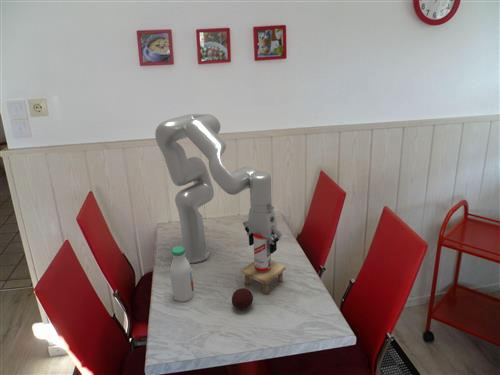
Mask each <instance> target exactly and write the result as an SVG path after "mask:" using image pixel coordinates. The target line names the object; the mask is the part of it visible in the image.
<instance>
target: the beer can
mask: <svg viewBox="0 0 500 375" xmlns="http://www.w3.org/2000/svg"><path fill="white" fill-rule="evenodd" d="M253 239H254V244H253V256H254V257H253V262H254V265H255V269H256V270H257V271H259V272H267V271H269V270H270V268H271V261H272V255H271V253H270V241H269V239H268V238H265V237H263V236H262V234H257V233H255V234H254V236H253Z"/></svg>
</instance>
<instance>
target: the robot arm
mask: <svg viewBox="0 0 500 375" xmlns="http://www.w3.org/2000/svg"><path fill="white" fill-rule="evenodd" d="M220 131H221V123H220V121H219V119H218V118H217V117H216V116H215V115H212V114H208V113H207V114H205V113H203V114H199V113H197V114H196V113H195V114H194V113H190V114H189V113H188V114H184V115H181V116H177V117H174V118H170V119H167V120H164V121H162V122H161V123H159V124H158V125H157V127H156V129H155V133H154V135H155V141H156V144H157V146H158V148H159V149H160V152H161V154H162V155H163V158H164V161H165V164H166V167H167V170H168V172H169V175H170V179H171V182H172V183H173V184H174V185H175V186H177V187H182V186H186V185H188V184H190V183H193V184H191V185H188V186H187V187H184V188H183V189H181V190H179V191H178V192H177V193H176V195H175V198H174V202H175V206H176V209H177V212H178V216H179V223H180V232H181V242H180V244H179V245H178V246H182V247H184V249H185V257H186V259H187V260H188V262H189V264H198V263H202V262H204V261H206V260H207V259H208V258H210V257H211V251H210V249H209V248H207V246H206V236H205V226H204V217H203V214H201V212H200V211H199V208H200V207H202V206H204V205H206V204H208V203H209V202H211V201H212V200H213V198H214V197H215V196H214V195H215V192H214V187H213V182H212V180H211V177H212V178H213V180H214V181H215V183H216V184H217V185H218V186H219V187H220V188H221V190H223V191H224V192H226V194H228V195H231V196H235V195H238V194H239V193H242V192H244V191H246V190H247V189H249V200H250V208H249V212H248V220H245V221H243V222H242V225H243V227H244V231H246V235H247V236H248V245H249V247H251V246H254V239H253V236H254V234H255V233H257V234H262V236H263V237H265V238H268V239H269V241H270V253H271V254H274V253H275V252H277V248H278V247H277V242H278V241H280V240H281V239H282V238H283V233H282V232H281V231H279V229H278V228H277V225H278V224H277V219H276V218H277V217H276V214H275V211H274V210H275V209H274V208H275V207H274V206H273V204H272V200H273V199H272V198H273V197H272V176H271V174H270V173H269V172H267V171H264V170H262V171H261V170H260V171H259V170H258V169H255V168H254V167H252V166H243V167H241V168H239V169H237V170H235V171H233V172H230V171H228V169H227V168H226V167H225V166H224V164H223V162H222V158H221V157H222V155H223V154H224V153H225V151H226V149H227V144H226V143H225V141H224V140H222V138H221V137H220V136H219V135H218V134H219V133H220ZM186 138H188V139H189V140H190V141H191V142H192V144H193V145H195V146H196V147H197V149H198V150H199V151H200V152H201V153H202V154H203V155H204V156H205V157H206V158H207V160H208V167H207V166H206V164H205V162H204V160H203V159H202V158H200V157H199V156H191V157H189V158H187V157H188V156H187V155H186V154H187V153H186V152H185V149H184V148H183V146H182V145H181V144H180V143H179V142H177V141H180V140H183V139H186ZM208 168H209V171H208ZM209 172H210V174H211V176H210V174H209Z"/></svg>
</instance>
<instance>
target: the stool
mask: <svg viewBox="0 0 500 375" xmlns="http://www.w3.org/2000/svg"><path fill="white" fill-rule="evenodd" d="M284 271H286V265H283V264H281V263H277V262H275V261H274V260H271V268H270V270H269V271H267V272H259V271H257V270H256V269H255V265H254V261H253V262H251V263H250V264H248V265H247V266H245V267H244V268H243V269H241V270H240V272H241V273H240V274H241V275H243V276H244V285H245V286H250V285H251V284H250V283H251V282H250V281H251V280H250V279H252V280H255V281H256V282H257V281H258V282H259V283H261V284H262V286H263V288H262V289H263V294H264V295H268V294H269V284H270V283H271V282H272V281H273V280H274V279H276V278H277V282H278V283H283V280H284V279H283V278H284V277H283V276H284V274H283V272H284Z"/></svg>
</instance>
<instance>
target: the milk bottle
mask: <svg viewBox="0 0 500 375" xmlns="http://www.w3.org/2000/svg"><path fill="white" fill-rule="evenodd" d="M171 256H172V259H171V260H172V261H171V264H170V268H169V275H170V282H171V292H172V297H173V299H174V300H175V301H177V302H181V303H182V302H188V301H190V300H191V299H192V298H193V297H194V296H195V290H194V279H193V271H192V266H191V265H190V264H191V263H189V262H188V260H187V259H186V257H185V249H184V247H182V246H179V245H177V246H174V247H172V249H171Z"/></svg>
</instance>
